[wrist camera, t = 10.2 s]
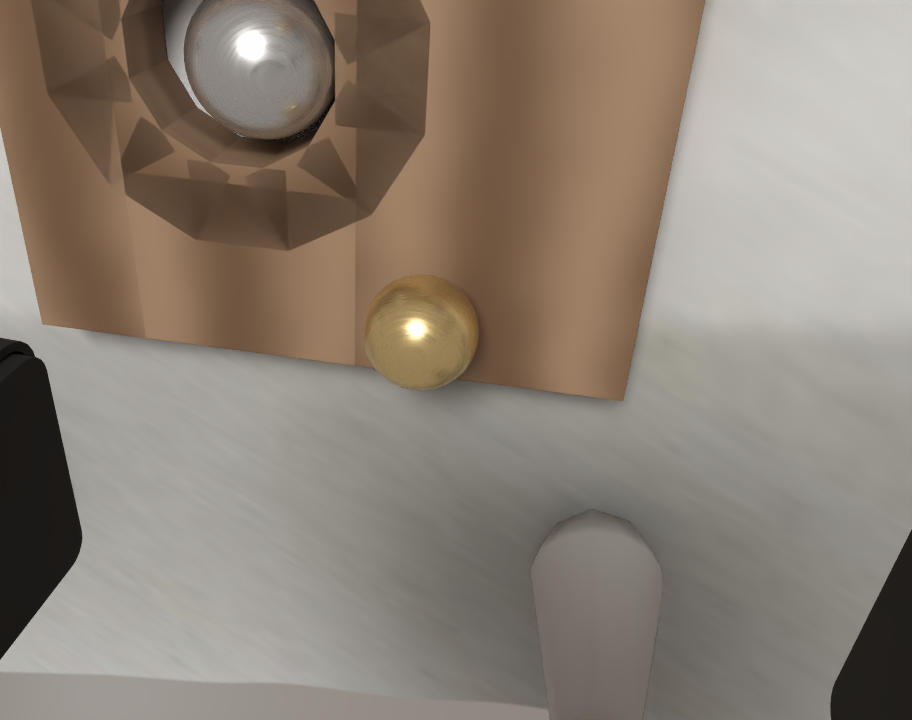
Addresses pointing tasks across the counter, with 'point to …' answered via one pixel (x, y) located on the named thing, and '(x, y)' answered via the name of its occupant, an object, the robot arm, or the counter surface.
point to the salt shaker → (596, 617)
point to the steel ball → (261, 64)
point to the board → (357, 180)
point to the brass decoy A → (420, 332)
